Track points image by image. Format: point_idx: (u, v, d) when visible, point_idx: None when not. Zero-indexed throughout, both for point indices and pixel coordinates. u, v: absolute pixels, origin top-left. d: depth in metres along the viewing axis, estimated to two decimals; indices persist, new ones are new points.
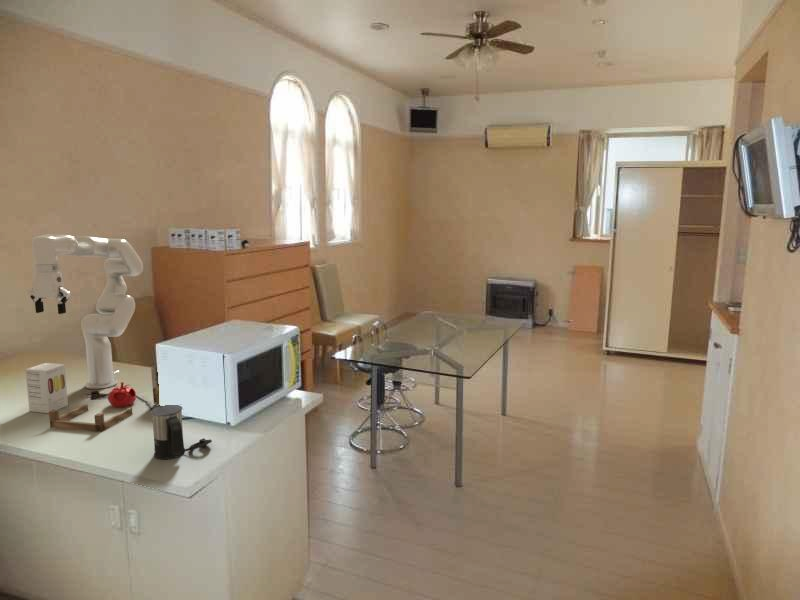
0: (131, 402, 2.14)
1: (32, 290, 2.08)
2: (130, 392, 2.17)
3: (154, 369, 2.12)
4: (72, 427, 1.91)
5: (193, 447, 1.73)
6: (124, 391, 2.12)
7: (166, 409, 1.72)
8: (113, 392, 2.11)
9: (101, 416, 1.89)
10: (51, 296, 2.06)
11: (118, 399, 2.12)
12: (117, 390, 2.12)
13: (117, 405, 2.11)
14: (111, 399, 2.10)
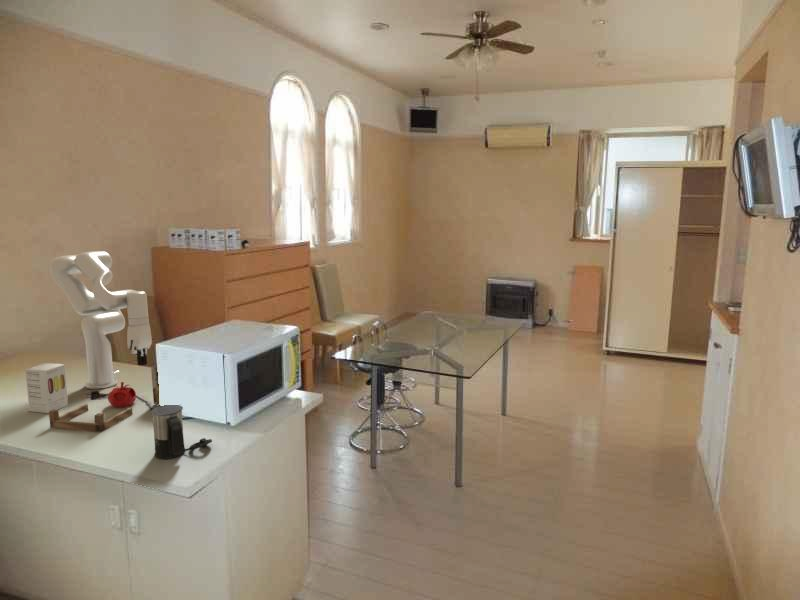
0: (131, 402, 2.14)
1: (135, 348, 2.20)
2: (130, 392, 2.17)
3: (154, 369, 2.12)
4: (72, 427, 1.91)
5: (193, 447, 1.73)
6: (124, 391, 2.12)
7: (167, 408, 1.72)
8: (113, 392, 2.11)
9: (101, 416, 1.89)
10: (149, 344, 2.26)
11: (118, 399, 2.12)
12: (117, 390, 2.12)
13: (117, 405, 2.11)
14: (111, 399, 2.10)
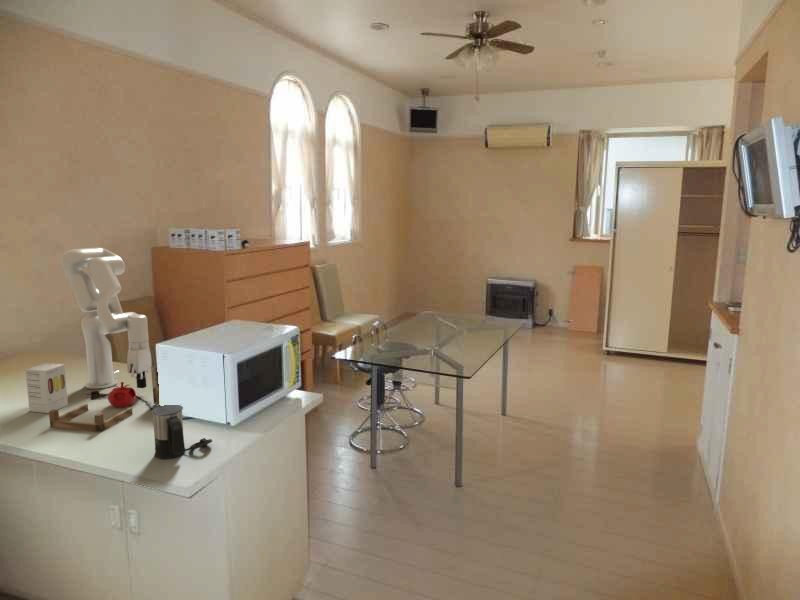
0: (131, 402, 2.14)
1: (135, 372, 2.21)
2: (130, 392, 2.17)
3: (154, 369, 2.12)
4: (72, 427, 1.91)
5: (193, 447, 1.73)
6: (124, 391, 2.12)
7: (167, 408, 1.72)
8: (113, 392, 2.11)
9: (101, 416, 1.89)
10: (149, 367, 2.28)
11: (118, 399, 2.12)
12: (117, 390, 2.12)
13: (117, 405, 2.11)
14: (111, 399, 2.10)
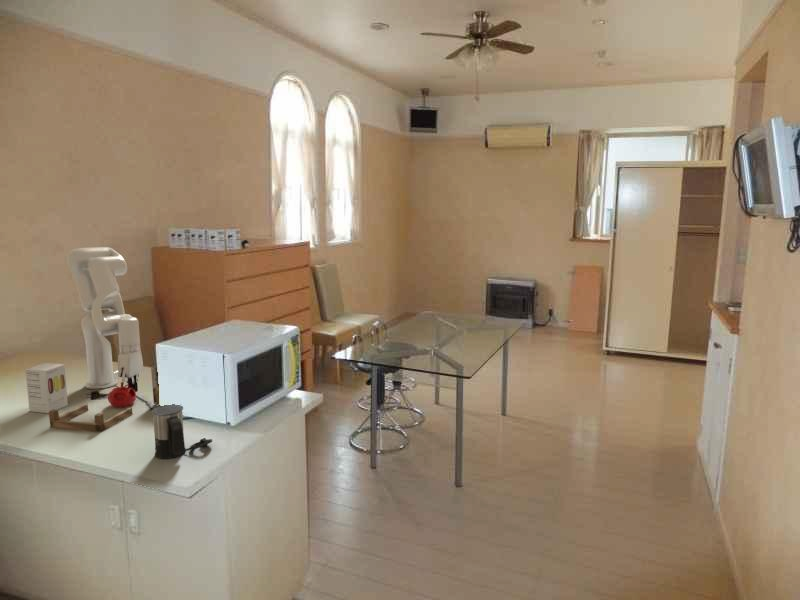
0: (131, 402, 2.14)
1: (126, 376, 2.15)
2: (130, 392, 2.17)
3: (154, 369, 2.12)
4: (72, 427, 1.91)
5: (194, 447, 1.73)
6: (124, 391, 2.12)
7: (167, 408, 1.72)
8: (113, 392, 2.11)
9: (101, 416, 1.89)
10: (140, 371, 2.22)
11: (118, 399, 2.12)
12: (117, 390, 2.12)
13: (117, 405, 2.11)
14: (111, 399, 2.10)
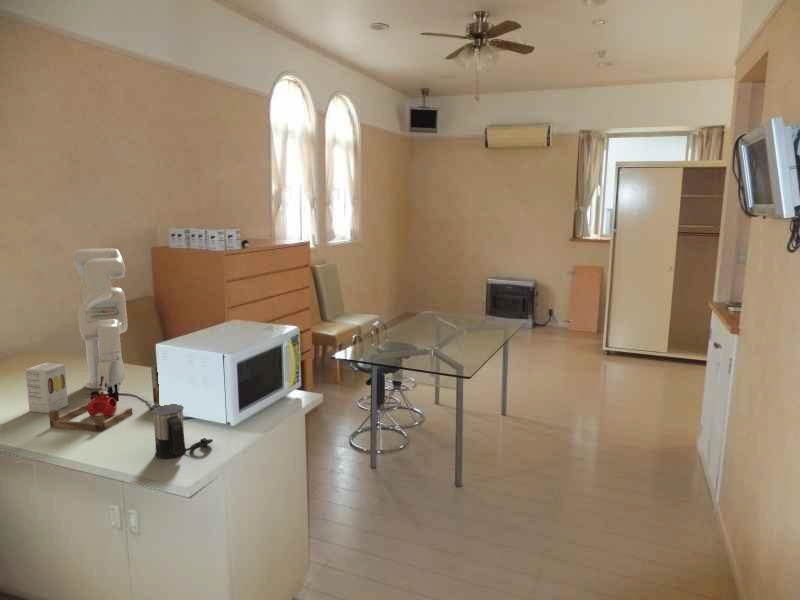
0: (112, 412, 2.03)
1: (106, 385, 2.04)
2: (110, 402, 2.06)
3: (154, 369, 2.12)
4: (72, 427, 1.91)
5: (194, 447, 1.73)
6: (104, 401, 2.01)
7: (168, 408, 1.73)
8: (92, 402, 2.00)
9: (101, 416, 1.89)
10: (121, 379, 2.11)
11: (98, 409, 2.01)
12: (96, 400, 2.01)
13: None
14: (90, 410, 1.99)
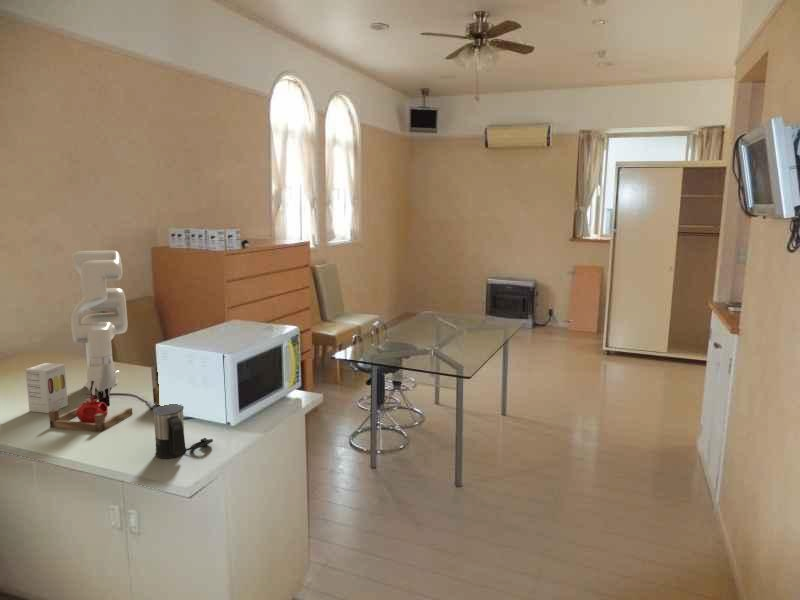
0: None
1: (96, 389, 1.99)
2: (101, 406, 2.01)
3: (154, 369, 2.12)
4: (72, 427, 1.91)
5: (194, 446, 1.73)
6: (95, 406, 1.96)
7: (168, 408, 1.73)
8: (82, 407, 1.95)
9: (101, 416, 1.89)
10: (113, 384, 2.06)
11: (88, 414, 1.96)
12: (87, 405, 1.96)
13: (87, 421, 1.94)
14: (80, 415, 1.94)
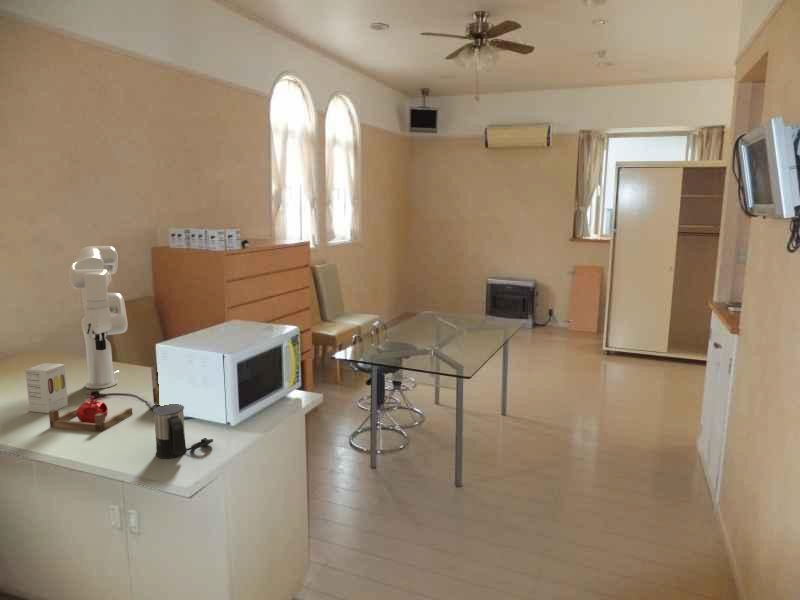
0: None
1: (93, 332, 2.08)
2: (101, 407, 2.01)
3: (154, 369, 2.12)
4: (72, 427, 1.91)
5: (195, 446, 1.73)
6: (94, 406, 1.96)
7: (168, 408, 1.73)
8: (82, 407, 1.95)
9: (101, 416, 1.89)
10: (109, 328, 2.15)
11: (88, 415, 1.96)
12: (87, 405, 1.96)
13: (87, 421, 1.94)
14: (80, 415, 1.94)
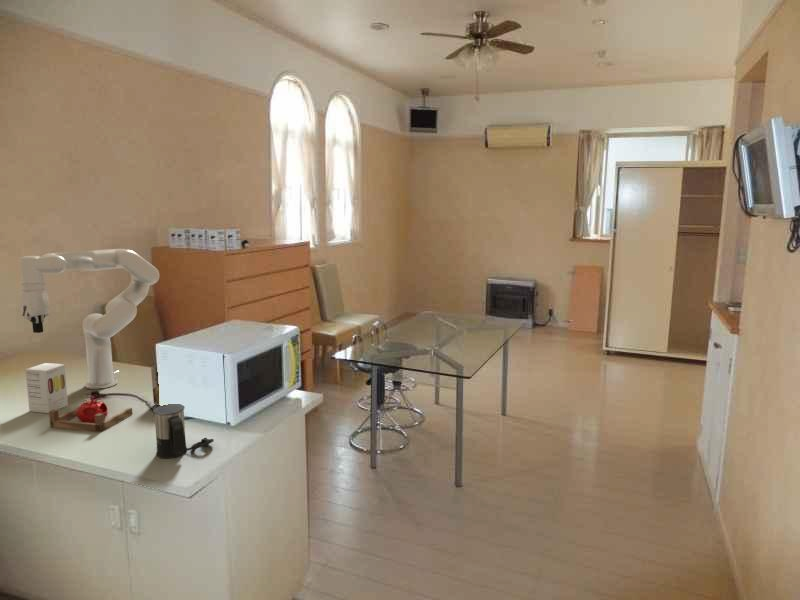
0: None
1: (28, 314, 2.13)
2: (101, 407, 2.01)
3: (154, 369, 2.12)
4: (72, 427, 1.91)
5: (195, 446, 1.74)
6: (94, 406, 1.96)
7: (169, 408, 1.73)
8: (82, 407, 1.95)
9: (101, 416, 1.89)
10: (46, 311, 2.20)
11: (88, 415, 1.96)
12: (87, 405, 1.96)
13: (87, 421, 1.94)
14: (80, 415, 1.94)
